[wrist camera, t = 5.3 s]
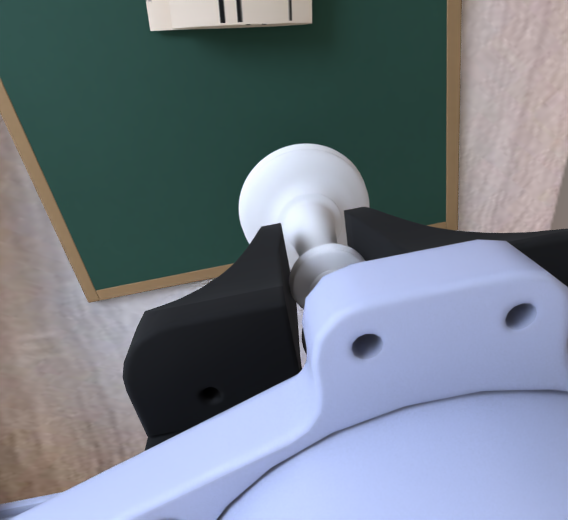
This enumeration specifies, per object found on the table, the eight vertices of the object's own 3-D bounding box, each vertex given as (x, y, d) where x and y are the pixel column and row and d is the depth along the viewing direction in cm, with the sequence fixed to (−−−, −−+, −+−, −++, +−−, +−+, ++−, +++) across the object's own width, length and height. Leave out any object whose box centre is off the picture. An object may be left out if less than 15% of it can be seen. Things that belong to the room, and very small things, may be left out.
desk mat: (454, 227, 25) (457, 230, 25) (90, 299, 25) (88, 303, 25) (460, -151, 17) (464, -156, 17) (-68, -46, 17) (-76, -49, 17)
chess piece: (218, 170, 15) (179, 347, 6) (348, 123, 15) (504, 238, 6) (265, 281, 17) (284, 527, 8) (379, 242, 17) (526, 457, 8)
